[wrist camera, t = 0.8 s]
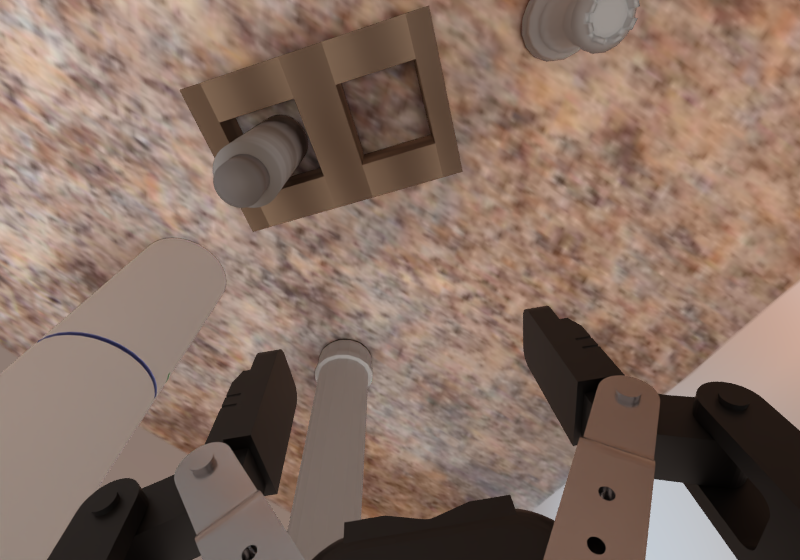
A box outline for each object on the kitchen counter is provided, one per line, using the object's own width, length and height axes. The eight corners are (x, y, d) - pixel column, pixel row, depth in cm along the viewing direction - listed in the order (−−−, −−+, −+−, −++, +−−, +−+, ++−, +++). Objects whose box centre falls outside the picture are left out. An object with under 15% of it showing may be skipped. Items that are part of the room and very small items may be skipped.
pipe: (354, 385, 42) (307, 917, 17) (302, 360, 40) (155, 921, 15) (384, 352, 40) (382, 906, 14) (330, 324, 38) (215, 909, 12)
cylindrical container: (225, 245, 34) (-56, 604, 12) (226, 313, 37) (9, 684, 16) (135, 231, 33) (-343, 591, 11) (145, 302, 36) (-204, 679, 15)
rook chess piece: (505, 38, 27) (547, 37, 20) (548, -36, 25) (611, -67, 18) (557, 74, 28) (614, 84, 21) (602, 5, 26) (680, -8, 19)
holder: (263, 216, 32) (215, 284, 23) (198, 85, 27) (106, 106, 18) (456, 160, 31) (485, 210, 22) (424, 9, 26) (445, -9, 16)
